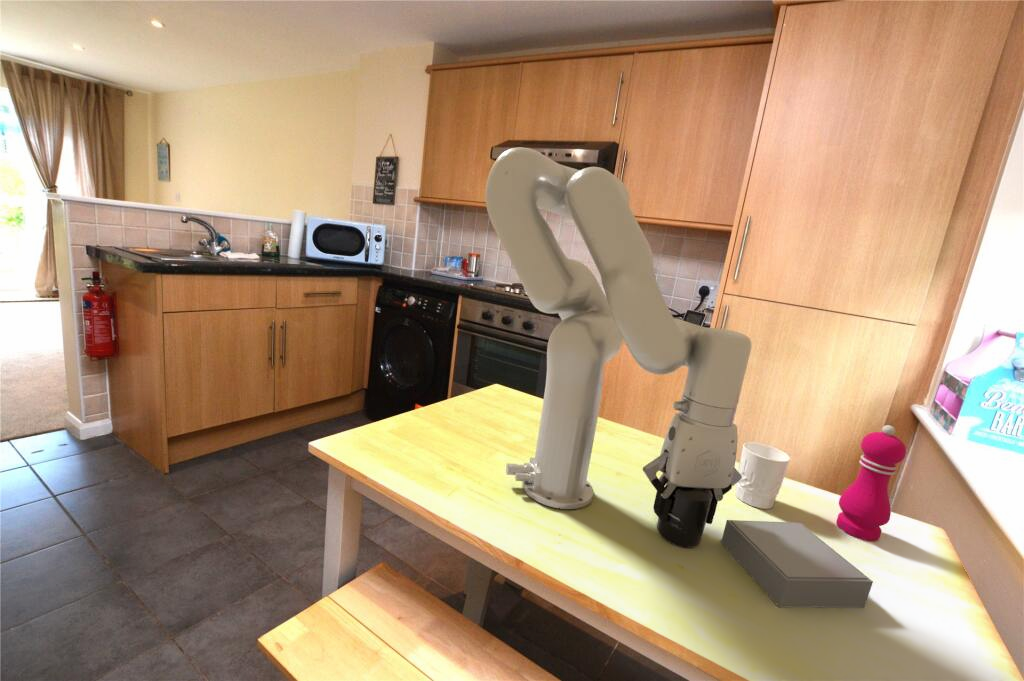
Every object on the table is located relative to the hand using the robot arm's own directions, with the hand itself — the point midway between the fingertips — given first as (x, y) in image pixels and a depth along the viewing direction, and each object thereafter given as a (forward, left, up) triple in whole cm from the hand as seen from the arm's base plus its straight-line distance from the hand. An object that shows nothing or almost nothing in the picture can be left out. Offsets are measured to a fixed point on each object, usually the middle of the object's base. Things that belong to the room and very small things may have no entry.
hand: (682, 517), depth 72 cm
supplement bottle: (0, 0, -3) cm, 3 cm away
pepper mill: (+36, +3, -3) cm, 36 cm away
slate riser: (+13, -8, -3) cm, 16 cm away
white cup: (+22, +12, -4) cm, 25 cm away
